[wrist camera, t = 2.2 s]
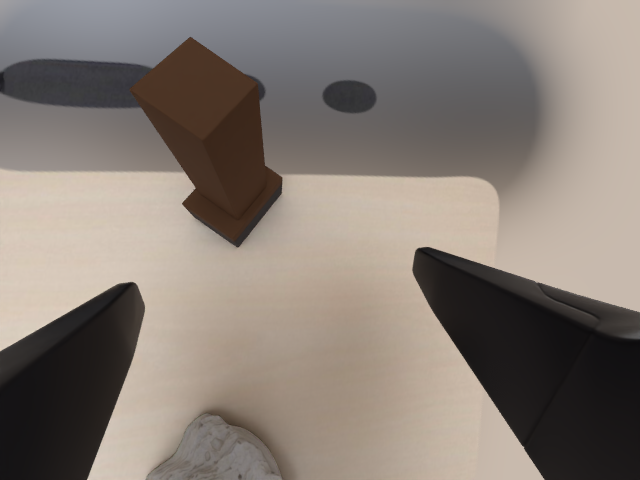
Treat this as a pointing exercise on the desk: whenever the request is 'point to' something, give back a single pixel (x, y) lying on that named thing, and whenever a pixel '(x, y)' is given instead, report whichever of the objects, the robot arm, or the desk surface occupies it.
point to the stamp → (212, 137)
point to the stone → (218, 454)
